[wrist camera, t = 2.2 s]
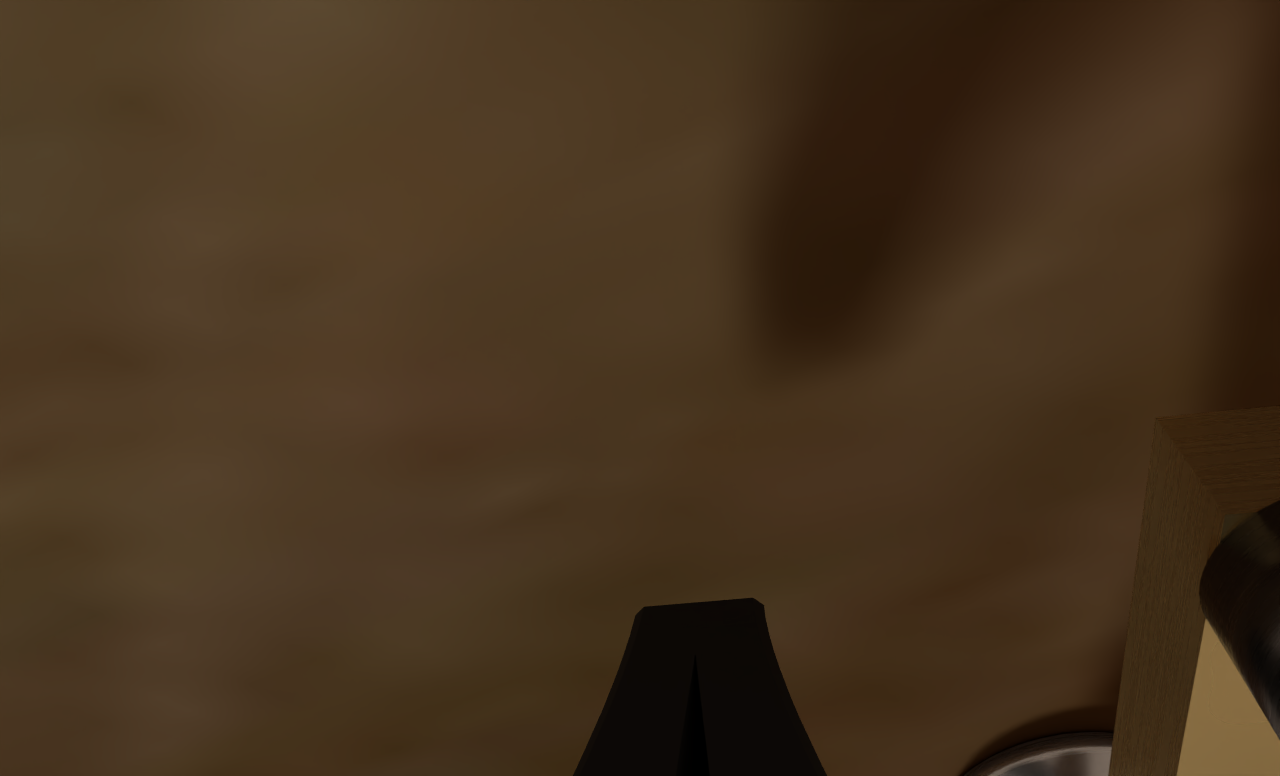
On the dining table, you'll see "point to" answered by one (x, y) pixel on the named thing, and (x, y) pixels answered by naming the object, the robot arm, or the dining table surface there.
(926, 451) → the dining table surface
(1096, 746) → the pivot post
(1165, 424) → the brass drawer handle
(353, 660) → the dining table surface
